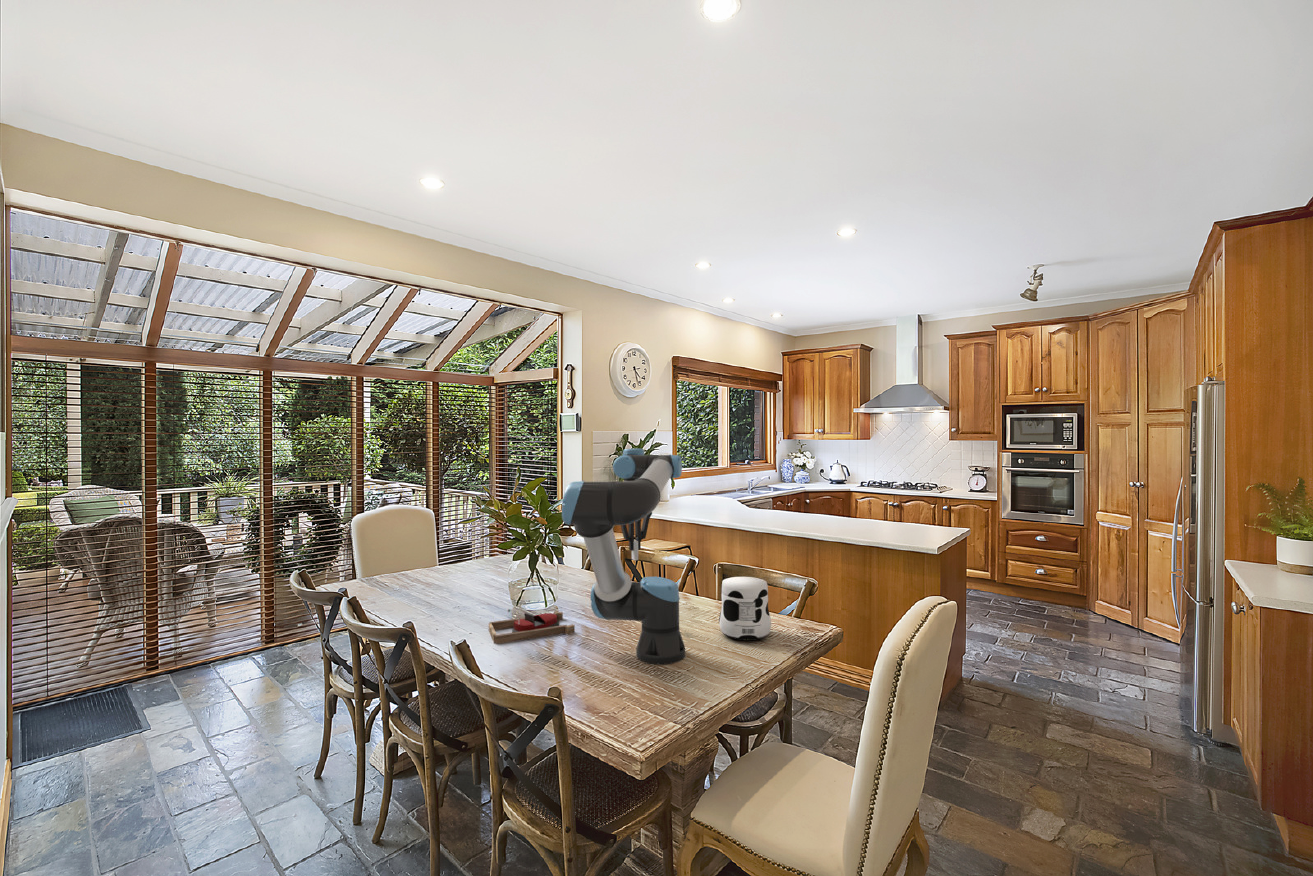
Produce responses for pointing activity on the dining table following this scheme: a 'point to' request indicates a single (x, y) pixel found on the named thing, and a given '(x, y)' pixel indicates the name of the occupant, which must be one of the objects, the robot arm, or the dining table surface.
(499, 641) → the cradle
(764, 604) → the milk container
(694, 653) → the dining table surface
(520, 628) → the bumper car
